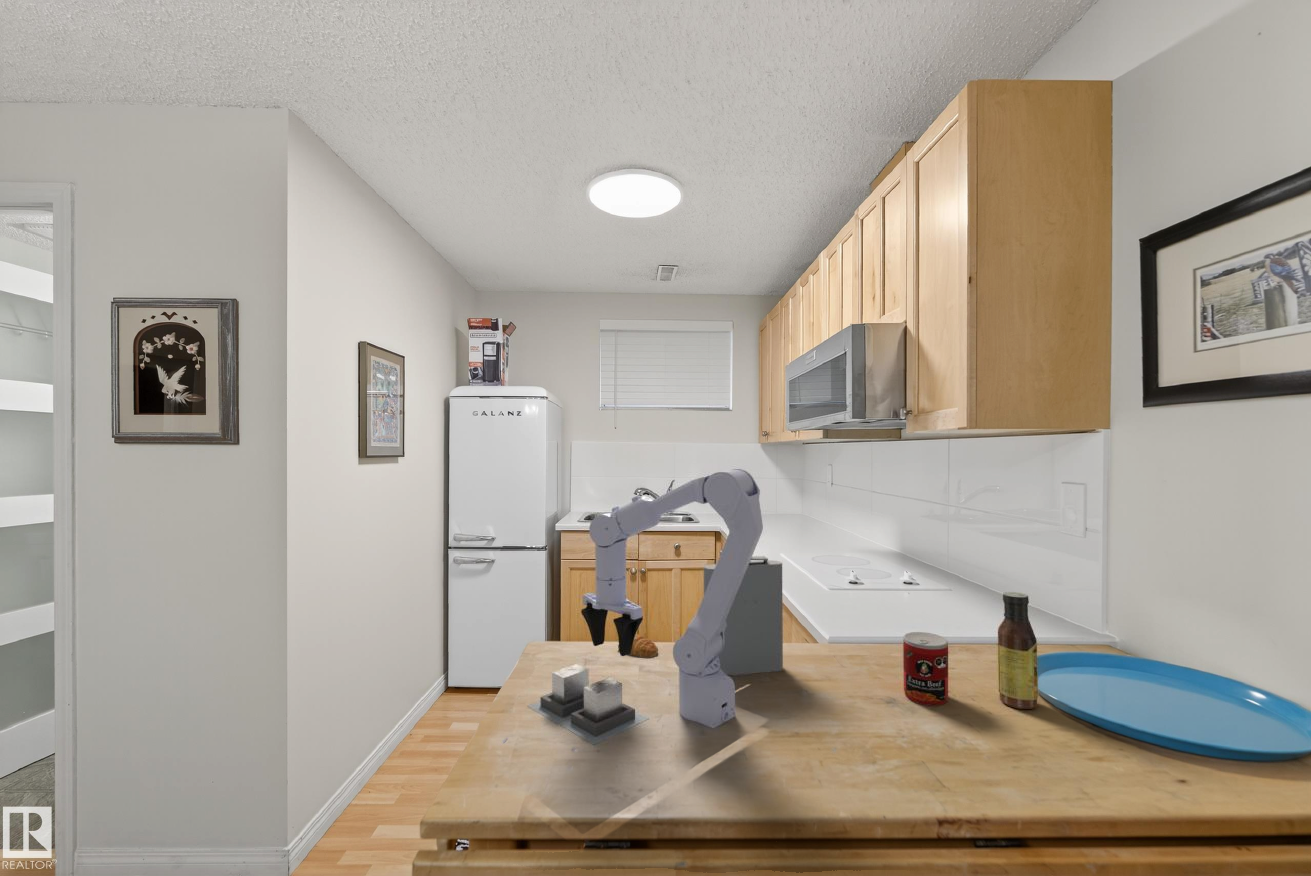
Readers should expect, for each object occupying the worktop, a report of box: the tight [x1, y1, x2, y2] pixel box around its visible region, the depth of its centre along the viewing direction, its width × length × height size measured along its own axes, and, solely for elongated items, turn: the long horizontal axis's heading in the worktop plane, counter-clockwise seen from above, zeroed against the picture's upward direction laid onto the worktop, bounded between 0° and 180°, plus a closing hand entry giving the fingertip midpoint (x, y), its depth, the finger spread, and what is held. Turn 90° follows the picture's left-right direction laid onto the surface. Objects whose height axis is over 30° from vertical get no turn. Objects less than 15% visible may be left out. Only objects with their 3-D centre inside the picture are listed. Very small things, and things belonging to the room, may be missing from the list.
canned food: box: [902, 631, 949, 706], centre depth 111 cm, size 8×8×11 cm
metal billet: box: [551, 663, 590, 706], centre depth 106 cm, size 4×6×6 cm, turn 135°
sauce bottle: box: [996, 591, 1039, 710], centre depth 108 cm, size 7×6×20 cm
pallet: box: [527, 692, 650, 746], centre depth 103 cm, size 19×12×3 cm, turn 45°
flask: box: [702, 555, 784, 677], centre depth 124 cm, size 17×5×25 cm, turn 106°
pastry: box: [617, 634, 659, 658], centre depth 134 cm, size 9×7×4 cm
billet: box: [584, 677, 623, 723], centre depth 100 cm, size 4×6×6 cm, turn 135°
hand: (611, 649), depth 111 cm, fingers open, 7 cm apart
